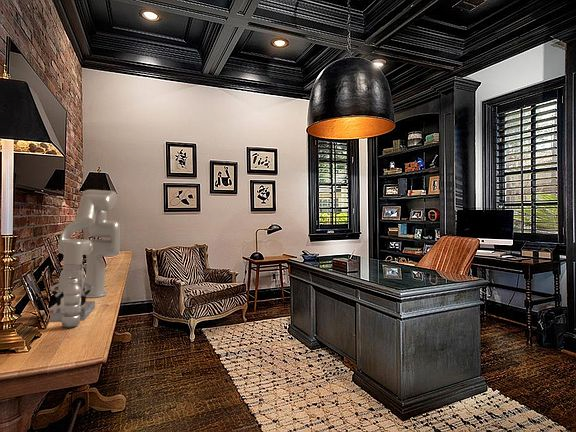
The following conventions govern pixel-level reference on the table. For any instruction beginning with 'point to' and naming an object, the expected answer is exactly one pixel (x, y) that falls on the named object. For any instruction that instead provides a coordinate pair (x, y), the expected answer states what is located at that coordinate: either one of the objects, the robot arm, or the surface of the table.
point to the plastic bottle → (71, 303)
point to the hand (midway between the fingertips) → (70, 304)
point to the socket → (83, 311)
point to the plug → (63, 303)
